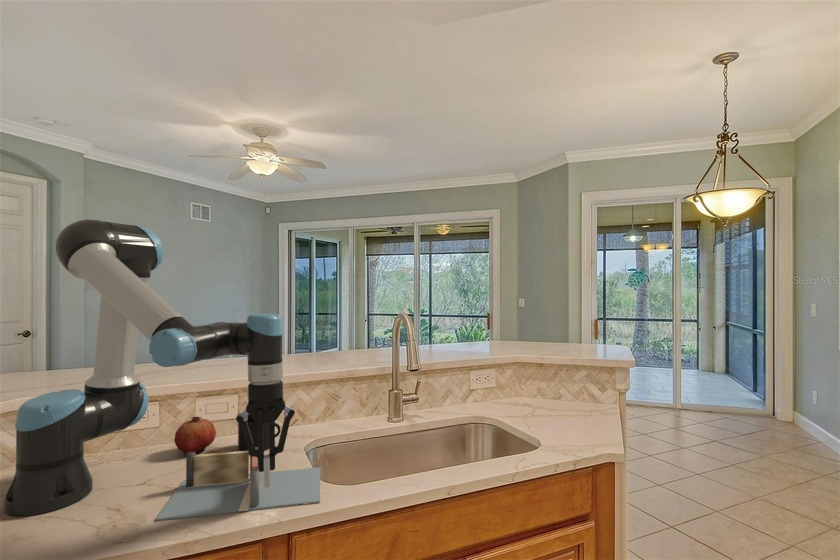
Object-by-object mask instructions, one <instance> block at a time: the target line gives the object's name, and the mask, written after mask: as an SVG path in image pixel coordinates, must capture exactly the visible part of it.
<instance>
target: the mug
mask: <svg viewBox="0 0 840 560" xmlns="http://www.w3.org/2000/svg"><path fill="white" fill-rule="evenodd" d="M247 416H248V420H247V422H248V425H249V429H250V432H251V436H252V439H253V442H254V446H255V447H258V429H257V423H256V422H255V421H254V420H253V419H252V418H251V416H250V415H249V414H248V415H247ZM237 424H238V425H237V428H238V429H237V431H238V432H237V433H238V434H237V436H238V437H237V451H248V448H247V445H246V441H245V438H244V435H243V431H242V428H241V426H240V425H239V423H238V422H237ZM275 428H276V429H277V432H275V438H277V437H279V436H280V434H281V430H282V427H281V425H279V423H276V422H275ZM263 430H264V452H265V451H267V450H269V423H268V422H265V423H263Z"/></svg>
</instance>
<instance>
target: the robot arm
mask: <svg viewBox="0 0 840 560" xmlns="http://www.w3.org/2000/svg"><path fill="white" fill-rule="evenodd" d="M55 253H56V257H57V259H58V260H59V262H60V263H61V265H62V266H63V267H64V268H65V270H67V271H68V272H69V273H70V274H71V276H73V277H75V278H77V279H81V280H85V281H86V282H87V283H88V284H89V285H90V286H92V288H94V290H96V291H97V292H98V293H99V294H100V304H99V313H98V314H99V315H98V322H97V323H98V324H97V333H96V344H95V354H94V366H93V373H92V375H91V376H90V377H89V378H88V379H86V380H85V382H84V390H81V389H77V388H75V389H63V390H58V391H53V392H49V393H44V394H41V395H38V396H35V397H33V398H31V399H29V400H27V401H25V402H24V403H22V404H21V406H20V407H19V408H18V409H17V413H16V420H15V421H16V422H15V425H14V427H15V430H16V433H15V435H16V436H15V440H16V441H15V472H14V475H13V478H12V480H11V482H10V485H9V488H8V490H7V492H6V495H5V497H4V501H3V512H4V513H5V514H6V515H8V516H12V517H15V516H16V517H20V516H21V517H25V516H33V515H35V516H36V515H39V514H43V513H48V512H53V511H56V510H59V509H62V508H65V507H67V506H70V505H73V504H75V503H77V502H79V501H81V500H82V499H84V498H86V497H87V496H88V495H89V494H90V493H91V492H92V490H93V483H94V482H93V477H92V474H91V472H90V470H89V467H88V465H87V463H86V461H85V458H84V455H85V454H84V451H85V450H84V448H85V447H84V446H85V443H86V442H89V441H92V440H95V439H98V438H101V437H103V436H107V435H109V434H112V433H113V434H114V433H116V432H121V431H123V430H125V429H127V428H128V427H132V426H134V425H136V424H138V423H139V422H140V421H141V420H142V419H143V417H144V416H145V415H146V412H147V410H148V408H149V402H150V401H149V400H150V399H149V398H150V397H149V393H148V392H147V389H146V387H145V386H144V384H142V383H141V379H140V377H139V376H138V375H136V374H135V365H136V358H137V357H136V356H137V355H136V354H137V346H138V344H137V343H138V335H139V332H140V333H142V335H144V337H146V338H147V339H148V340H149V344H148V349H149V350H148V351H149V354H150V355H151V359H152V361H153V362H154V363H155V364H156V365H158V366H159V367H163V368H170V367H171V368H172V367H181V366H182V367H183V366H185V365H188V364H189V365H190V364H192V363H196V362H200V361H205V360H210V359H215V358H219V357H223V356H236V355H237V356H241V355H242V356H247V382H249V384H248V385H247V399H248V400H247V405H245V410H243V411H242V412H240V413H239V412H238V413H237V414H236V416H235V421H236V422H237V424H238V423H239V425H240V426H241V428H242V431H243V435H244V438H245V441H246V445H247V448H248V452H249V457H250V456H251V457H257V458H258V470H259V473H264V488H266V487H270V472H271V471H275V469H276V456H277V454H281V453H283V451H284V448H285V444H286V441H287V437H288V431H289V429H290V428H289V427H290V424H291V420H292V419H293V417H294V415H295V414H296V412H295V408H294V407H293V406H292V407H290V406H288V405H286V401H285V399H284V382H283V380H282V379H283V377H284V374H283V372H284V371H283V370H284V368H283V367H284V365H283V333H284V331H283V327H282V317H281V316H280V315H279V314H278V313H257V314H256V313H255V314H254V313H253V314H249V315H248V316H247V319H246V322H226V321H220V322H219V321H218V322H210V323H207V324H205V325H203V324H201V325H193V324H192V323H190V322H189V321H188V320H187V319H186V318H184V317H183V316H182V315H181V314H180V313H179V312H178V311H177V310H175V309H174V308H173V306H171V305H170V304H169V303H168V302H166V300H165V299H164V298H162V297H161V296H160V295H159V294H158V293H157V292H156V291H155V290H153V288H151V287H150V286H149V285H148V284H147V281H149V280H150V279H151V272H152V271H154V270H156V269H158V267H159V265H161V264H162V261H163V259H164V247H163V244H162V241H161V239H160V238H159V236H157V234H156V233H155V232H154V231H152V230H151V229H149V228H146V227H142V226H138V225H134V224H125V223H124V224H123V223H119V222H118V223H117V222H112V221H111V222H110V221H103V220H98V219H82V220H81V219H80V220H78V221H74V222H72V223H70V224H68V225H67V226H65V227H64V228H63V229H62V230H61V232H59V234H58V236H57V238H56V241H55ZM282 412H283V416H284V419H283V421H282V427H281V431H280V434H279V439H278V442H277V443H278V444H277V446H276V437H275V434H276V426H275V423H276V421H277V420H278V419H279V417H280V416H281V414H282ZM248 414H249V415H250V416H251V418H252V419H253V420H254V421H255V422H256V423H257V429H258V449H255V446H254V442H253V439H252V436H251V432H250V429H249V425H248V422H247V420H248V416H247V415H248ZM265 422H268V423H269V449H268V450H269V452H268V453H265V451H264V430H263V423H265Z"/></svg>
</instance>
